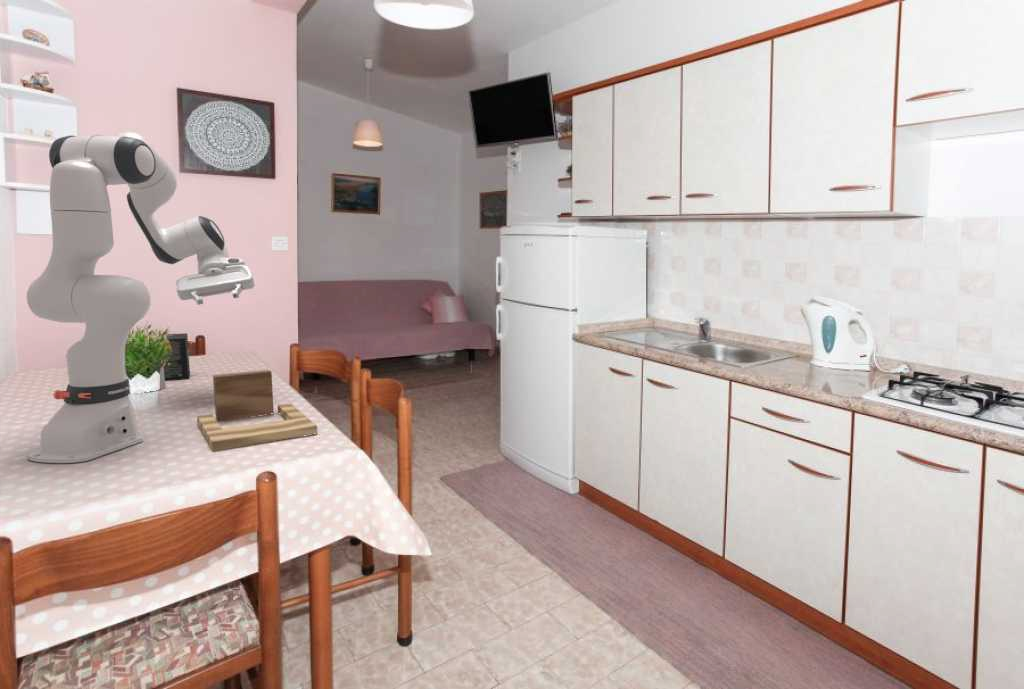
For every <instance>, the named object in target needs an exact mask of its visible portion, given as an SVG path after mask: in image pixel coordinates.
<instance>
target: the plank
mask: <svg viewBox="0 0 1024 689" xmlns="http://www.w3.org/2000/svg"><path fill="white" fill-rule="evenodd" d="M272 375H273V374H272V371H271V370H270V369H260V370H259V369H258V370H249V371H241V372H230V373H221V374H220V373H219V374H213V375H212V382H213V383H212V386H213V394H214V395H213V396H214V398H213V399H214V409H215V410H214V411H215V413H214V414H215V419H216V421H217V422H218V423H219V422H220V421H221V422H227V421H226V420H228V421H234V420H233V419H236V420H240V419H239V418H243V419H247V418H246V417H250V418H252V417H251V416H257V417H259V416H258V415H264V416H266V415H265V414H271V413H274V397H273V396H274V394H273V380H272V379H273V376H272ZM274 414H275V413H274ZM221 422H220V423H221Z"/></svg>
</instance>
